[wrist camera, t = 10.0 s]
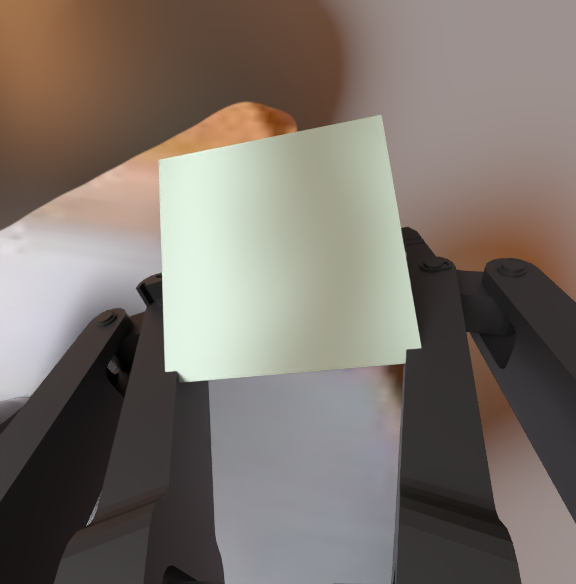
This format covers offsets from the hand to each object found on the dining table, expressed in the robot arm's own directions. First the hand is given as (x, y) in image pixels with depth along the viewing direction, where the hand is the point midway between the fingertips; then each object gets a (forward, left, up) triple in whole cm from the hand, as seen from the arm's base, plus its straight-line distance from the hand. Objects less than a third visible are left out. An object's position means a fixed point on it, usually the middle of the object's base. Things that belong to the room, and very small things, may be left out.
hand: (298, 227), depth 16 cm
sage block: (0, -4, -4) cm, 5 cm away
